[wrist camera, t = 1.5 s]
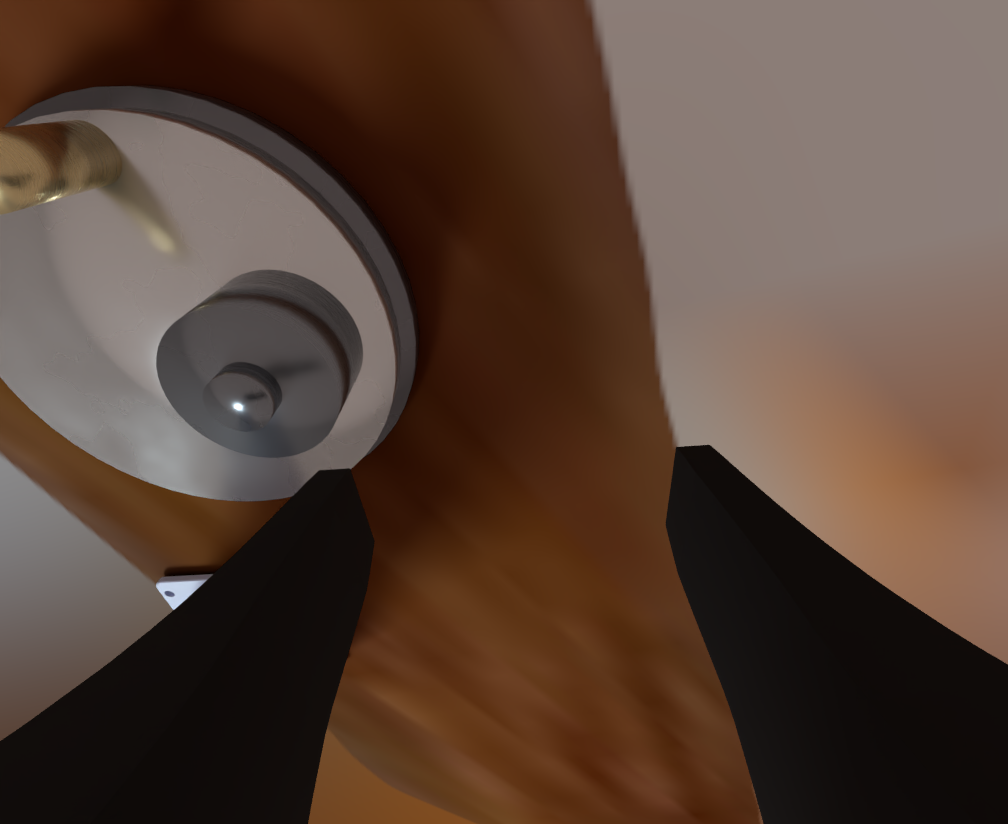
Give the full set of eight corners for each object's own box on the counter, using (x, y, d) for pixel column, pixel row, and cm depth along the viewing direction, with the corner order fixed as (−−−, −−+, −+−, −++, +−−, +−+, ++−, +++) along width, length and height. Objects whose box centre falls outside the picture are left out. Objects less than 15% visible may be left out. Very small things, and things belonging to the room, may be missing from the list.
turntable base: (446, 461, 23) (444, 476, 22) (130, 482, 23) (116, 496, 23) (368, 59, 14) (359, 58, 14) (-120, 111, 15) (-156, 113, 14)
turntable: (430, 471, 21) (413, 559, 18) (118, 491, 22) (36, 580, 18) (344, 82, 14) (280, 86, 10) (-133, 132, 14) (-371, 154, 10)
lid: (377, 400, 18) (350, 469, 15) (243, 409, 18) (189, 479, 15) (341, 263, 15) (297, 312, 12) (182, 276, 15) (100, 328, 12)
